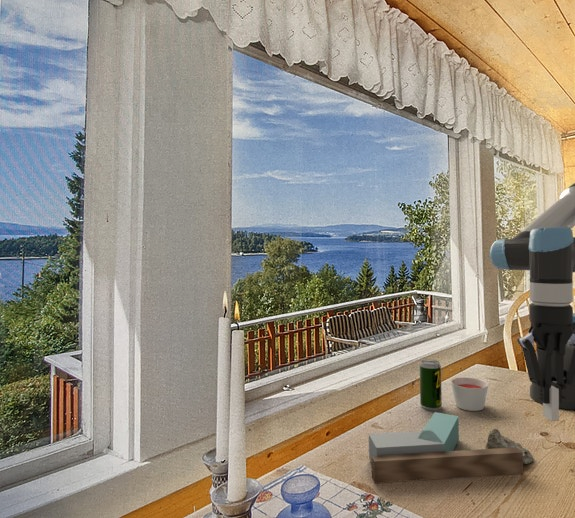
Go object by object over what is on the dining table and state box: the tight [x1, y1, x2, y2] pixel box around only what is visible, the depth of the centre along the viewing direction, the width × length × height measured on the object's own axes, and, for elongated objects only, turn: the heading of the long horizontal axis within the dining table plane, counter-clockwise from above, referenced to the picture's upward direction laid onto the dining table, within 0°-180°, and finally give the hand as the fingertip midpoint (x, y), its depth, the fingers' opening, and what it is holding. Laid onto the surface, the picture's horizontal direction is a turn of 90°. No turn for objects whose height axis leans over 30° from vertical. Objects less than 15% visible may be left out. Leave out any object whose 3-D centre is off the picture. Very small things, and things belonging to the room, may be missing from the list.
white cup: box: [450, 376, 489, 412], centre depth 113 cm, size 9×9×6 cm
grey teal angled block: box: [368, 411, 460, 464], centre depth 89 cm, size 21×15×5 cm
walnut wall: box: [371, 447, 524, 484], centre depth 80 cm, size 28×2×4 cm, turn 93°
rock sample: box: [484, 428, 534, 465], centre depth 86 cm, size 10×8×9 cm
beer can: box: [419, 358, 443, 411], centre depth 113 cm, size 5×5×12 cm
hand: (550, 418), depth 88 cm, fingers closed
